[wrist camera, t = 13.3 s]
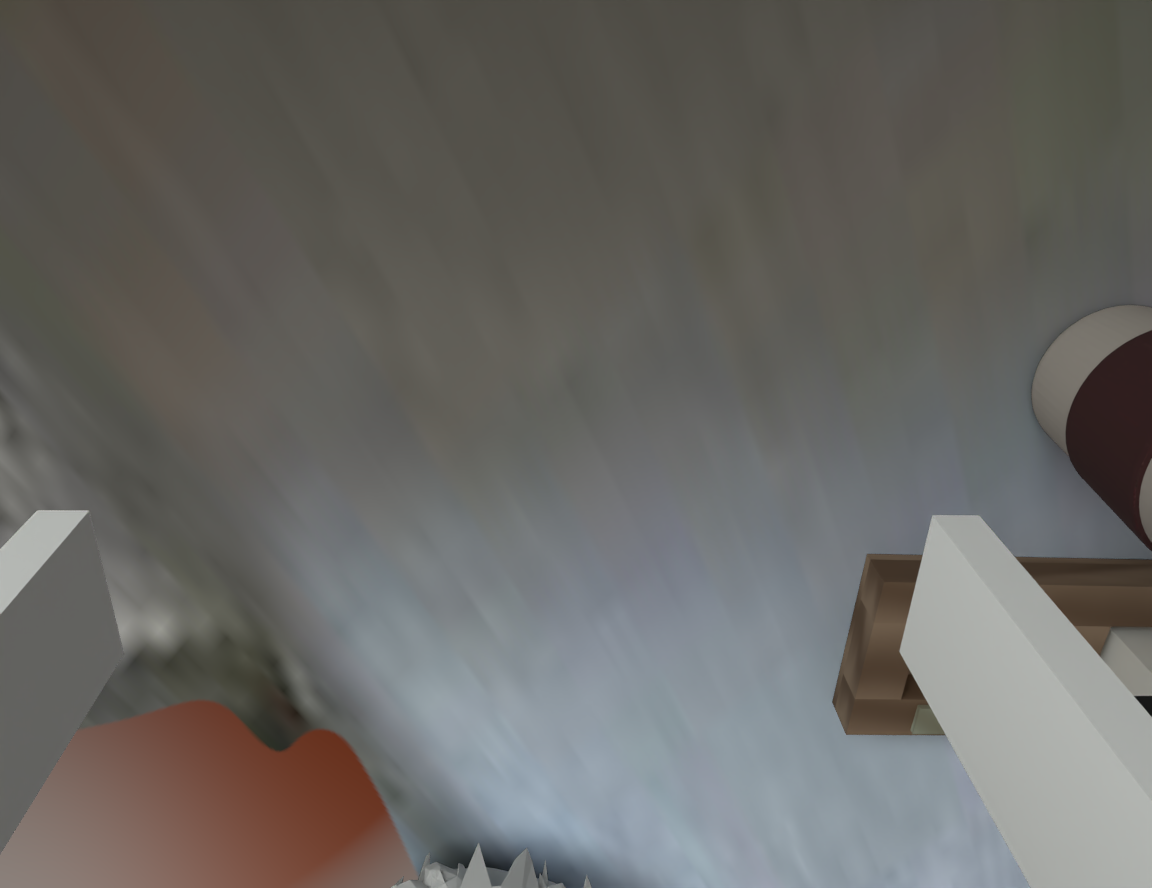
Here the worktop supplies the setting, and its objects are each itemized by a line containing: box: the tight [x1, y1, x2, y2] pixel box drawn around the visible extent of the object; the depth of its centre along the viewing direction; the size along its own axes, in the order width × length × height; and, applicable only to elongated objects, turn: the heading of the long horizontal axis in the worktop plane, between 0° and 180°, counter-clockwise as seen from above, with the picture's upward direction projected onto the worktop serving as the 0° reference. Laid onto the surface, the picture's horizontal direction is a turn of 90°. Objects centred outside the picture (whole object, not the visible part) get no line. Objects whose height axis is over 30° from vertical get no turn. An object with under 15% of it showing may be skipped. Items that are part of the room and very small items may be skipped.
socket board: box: [832, 554, 1152, 735], centre depth 48 cm, size 10×20×3 cm, turn 87°
